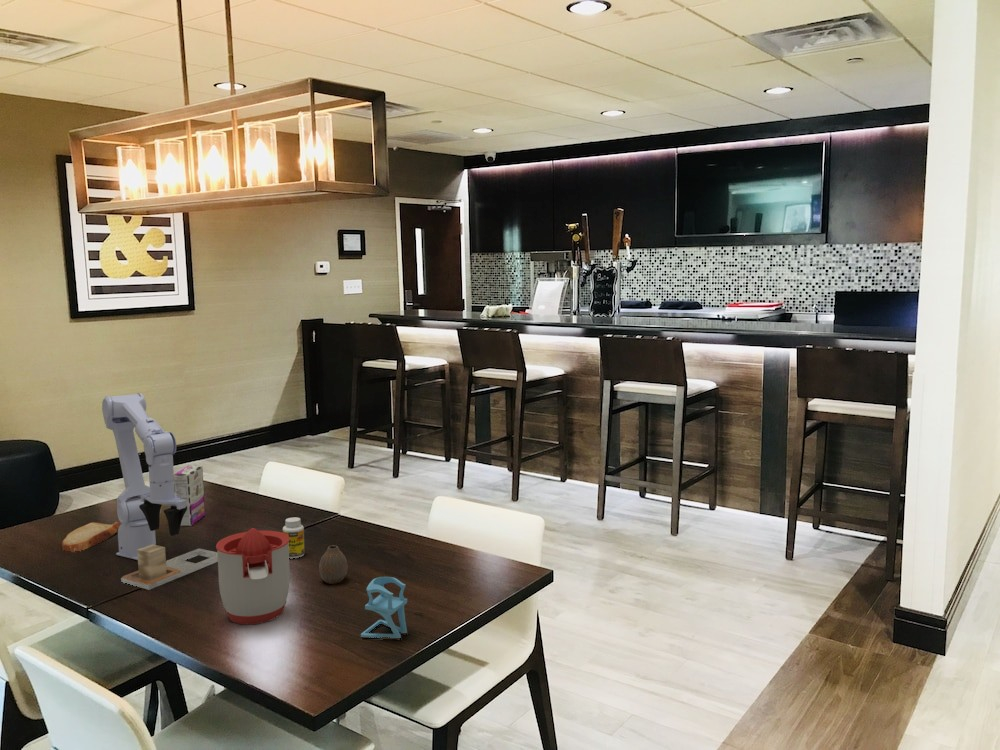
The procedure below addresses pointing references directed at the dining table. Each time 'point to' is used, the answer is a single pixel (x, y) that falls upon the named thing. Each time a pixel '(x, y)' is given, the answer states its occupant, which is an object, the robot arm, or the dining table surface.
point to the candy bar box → (191, 493)
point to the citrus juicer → (254, 575)
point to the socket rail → (173, 569)
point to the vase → (333, 565)
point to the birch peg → (151, 562)
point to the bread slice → (89, 536)
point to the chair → (386, 607)
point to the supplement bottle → (295, 537)
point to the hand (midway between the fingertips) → (164, 532)
